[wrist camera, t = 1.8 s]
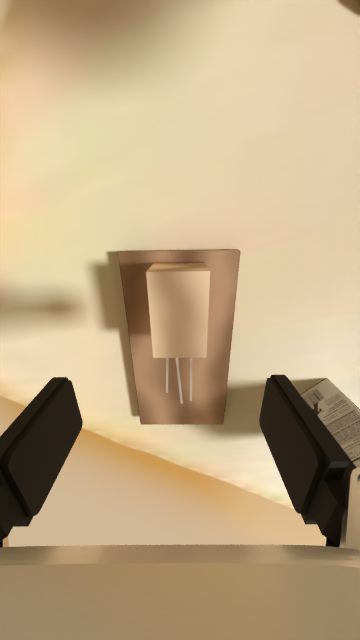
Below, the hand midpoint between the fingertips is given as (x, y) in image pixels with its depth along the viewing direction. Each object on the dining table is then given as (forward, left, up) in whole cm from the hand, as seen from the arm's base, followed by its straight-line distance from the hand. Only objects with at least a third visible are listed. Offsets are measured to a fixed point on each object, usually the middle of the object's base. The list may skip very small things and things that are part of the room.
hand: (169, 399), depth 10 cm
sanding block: (0, -1, -14) cm, 14 cm away
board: (0, +6, -15) cm, 17 cm away
